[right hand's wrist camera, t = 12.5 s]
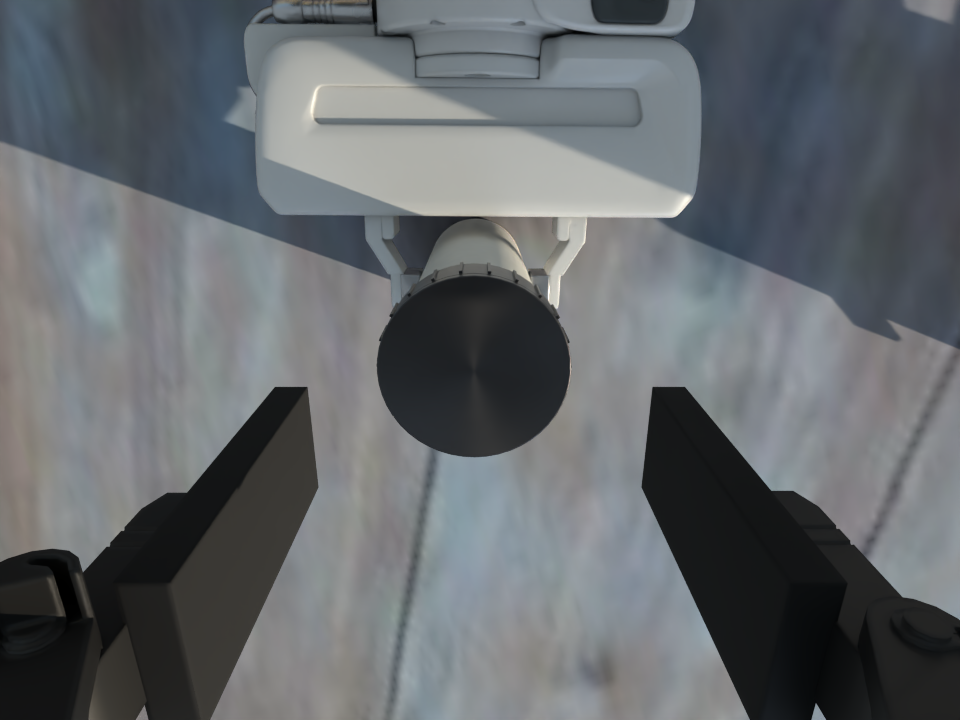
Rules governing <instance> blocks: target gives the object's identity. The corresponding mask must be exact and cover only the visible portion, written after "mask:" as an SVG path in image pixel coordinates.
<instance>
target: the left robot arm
mask: <svg viewBox="0 0 960 720" xmlns="http://www.w3.org/2000/svg"><path fill="white" fill-rule="evenodd" d="M694 6H695V0H273V1H272V6H268V7H266V8H263V9H262V10H260V11H259V12H257V13H256V14H255V15H254V16H253V18H252V19H251V20H250V22H249V24H248V25H247V27H246V29H245V34H244V49H245V58H246V67H247V76H248V80H249V83H250V86H251V88H252V90H253V92H254V94H255V95H256V96H257V98H256V116H255V159H256V177H257V186H258V191H259V194H260V195H261V197H262V198H263V199H264V200H265V201H266V202H267V204H268V205H269V206H270V207H271V208H272V209H273V210H274V211H275V212H276V213H277V214H280V215H364V219H365V236H366V241H367V242H368V244H369V246H370V247H371V249H372V250H373V252H374V253H375V255H376V256H377V258H378V260H379V261H380V263H381V264H382V266H383V267H384V269H385V270H386V272H387V274H390V275H391V297H392V306H393V308H394V306H395V304H396V303H400V301H401V299H402V298H403V297H404V296H405V295H406V293H407V292H408V291H409V290H410V288H411V286H412V284H413V283H415V284H417V283H418V282H419V280H420V278H421V276H422V273H423V268H407V265H406V264H405V262H404V260H403V258H402V257H401V255H400V253H399V252H398V250H397V248H396V246H395V245H394V243H393V241H392V240H391V239H393V238H394V237H395V236H396V235H397V234H398V233H399V231H400V226H399V216H505V217H552V233H553V234H554V236H555V237H556V238H557V239H558V240H559V243H558V245H557V246H556V248H555V249H554V251H553V253H552V254H551V256H550V258H549V259H548V261H547V263H546V264H545V266H544V269H528V275H529V277H530V280H531V282H532V284H533V285H534V286H535V285H537V286H538V287H539V289H540V292H541V293H542V294H543V295H544V296H545V297H546V299H547V300H548V302H549V303H550V305H552V304H553V305H554V307H555V309H557V308H558V304H559V289H560V275H563V274H564V273H565V271H566V270H567V268H568V267H569V265H570V264H571V262H572V261H573V259H574V258H575V256H576V255H577V253H578V252H579V250H580V249H581V247H582V246H583V244H584V243H585V237H586V223H587V217H636V218H672V217H676V216H677V215H678V214H679V213H680V212H681V211H682V210H683V209H684V208H685V207H686V206H687V204H688V203H689V202H690V201H691V200H692V198H693V197H694V195H695V192H696V187H697V181H698V173H699V163H700V150H701V123H702V110H701V84H700V77H699V73H698V69H697V66H696V63H695V61H694V59H693V57H692V56H691V54H690V53H689V52H688V50H687V49H686V48H685V47H684V46H682V45H681V44H680V43H678V42H676V41H674V40H672V38H674V37H675V36H677V35H678V34H679V33H681V32H682V31H683V30H684V29H685V28H686V27H687V25H688V24H689V22H690V20H691V18H692V15H693V11H694ZM273 16H274V18H275V20H276V22H278V23H281V24H262V23H263V22H264V21H265V20H266V19H268V18H271V17H273ZM308 23H324V24H308ZM376 23H377V27H376ZM377 33H378V35H377ZM378 36H379V37H378Z"/></svg>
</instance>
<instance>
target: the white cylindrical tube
mask: <svg viewBox="0 0 960 720" xmlns="http://www.w3.org/2000/svg"><path fill="white" fill-rule="evenodd" d="M460 262H463V264H471V263H478V264H487V262H489V263H490V264H491V265H494V266H498V267H501V268H504V269H507V270H510V271H512V272H513V270H515V271H516V272H517V274H518V275H520V276H522V277H523V278H525V279H526V280H528V281H529V282H531V280H530V277H529V275H528V272H527V270H526V267H525V265H524V262H523V260H522V257H521V254H520V252H519V249H518V247H517V245H516V243H515V241H514V239H513V238H512V236H511V235H510V234H509V233H508V232H507V231H506V230H505V229H504V228H503V227H501V226H500V225H498V224H496V223H494V222H492V221H489V220H485V219H476V218H475V219H467V220H463V221H460V222H457V223H455V224H453V225H452V226H450V227H449V228H447V229H446V230H445V231H444V232H443V233H442V234H441V236H440V237H439V238H438V240H437V241H436V244H435V246H434V248H433V250H432V253H431V255H430V257H429V259H428V262H427V264H426V266H425V269H424V271H423V273H422V276H421V278H420V280H419V281H421V280H422V279H424V278H425V277H427V276H428V275H430V274H432V273H433V272H434V270H436V269H437V270H441V269H444V268H447V267H450V266H455V265H460ZM531 283H532V282H531Z"/></svg>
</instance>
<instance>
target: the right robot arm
mask: <svg viewBox="0 0 960 720" xmlns="http://www.w3.org/2000/svg"><path fill="white" fill-rule="evenodd" d="M317 489H318V479H317V470H316V461H315V452H314V443H313V434H312V424H311V415H310V406H309V397H308V388H307V387H275V388H274V389H273V390H272V391H271V393H270V394H269V395H268V396H267V397H266V399H265V400H264V401H263V402H262V403H261V405H260V406H259V407H258V408H257V409H256V411H255V412H254V413H253V414H252V415H251V417H250V418H249V419H248V420H247V421H246V423H245V424H244V425H243V426H242V427H241V429H240V430H239V431H238V432H237V433H236V435H235V436H234V437H233V438H232V439H231V441H230V442H229V443H228V444H227V446H226V447H225V448H224V449H223V450H222V452H221V453H220V454H219V455H218V456H217V458H216V459H215V460H214V461H213V462H212V464H211V465H210V466H209V467H208V468H207V470H206V471H205V472H204V473H203V474H202V476H201V477H200V478H199V479H198V480H197V482H196V483H195V484H194V485H193V486H192V488H191V489H190V490H189V491H188V492H187V493H166V494H165V495H163V496H161V497H160V498H158V499H157V500H155V501H153V502H152V503H150V504H149V505H147V506H145V507H144V508H142V509H141V510H140V511H139V512H138V513H137V514H136V516H135V517H134V518H133V519H132V520H131V521H130V522H129V523H128V524H127V525H126V526H125V530H124V531H121V532H120V533H119V534H118V535H117V536H116V537H115V538H114V539H113V541H112V542H111V543H110V547H106V548H105V549H104V550H103V551H102V553H101V554H100V555H99V556H98V557H97V558H96V559H95V560H94V561H93V562H92V563H91V565H90V566H89V567H88V568H87V569H86V570H85V571H84V572H82V568H81V565H80V561H79V558H78V557H77V556H76V555H74V554H73V553H71V552H70V551H66V550H58V549H47V550H39V551H31V552H28V553H25V554H21V555H18V556H15V557H11V558H8V559H6V560H4V561H2V562H0V720H136V718H137V717H138V715H139V713H140V711H141V710H142V708H143V706H144V705H145V708H146V711H147V715H148V719H149V720H210V719H211V717H212V714H213V712H214V710H215V708H216V706H217V704H218V702H219V699H220V697H221V695H222V693H223V691H224V689H225V687H226V684H227V682H228V680H229V678H230V676H231V674H232V672H233V669H234V667H235V665H236V663H237V661H238V659H239V657H240V654H241V652H242V650H243V648H244V646H245V644H246V642H247V639H248V637H249V635H250V633H251V631H252V629H253V627H254V624H255V622H256V620H257V618H258V616H259V614H260V612H261V609H262V607H263V605H264V603H265V601H266V599H267V596H268V594H269V592H270V590H271V588H272V586H273V584H274V581H275V579H276V577H277V575H278V573H279V571H280V569H281V566H282V564H283V562H284V560H285V558H286V556H287V554H288V551H289V549H290V547H291V545H292V543H293V541H294V539H295V536H296V534H297V532H298V530H299V528H300V526H301V524H302V521H303V519H304V517H305V515H306V513H307V511H308V509H309V506H310V504H311V502H312V500H313V498H314V496H315V494H316V491H317ZM642 489H643V491H644V494H645V496H646V498H647V500H648V502H649V504H650V506H651V509H652V511H653V513H654V515H655V517H656V519H657V521H658V524H659V526H660V528H661V530H662V532H663V534H664V536H665V539H666V541H667V543H668V545H669V547H670V549H671V551H672V554H673V556H674V558H675V560H676V562H677V564H678V566H679V569H680V571H681V573H682V575H683V577H684V579H685V581H686V584H687V586H688V588H689V590H690V592H691V594H692V596H693V599H694V601H695V603H696V605H697V607H698V609H699V612H700V614H701V616H702V618H703V620H704V622H705V624H706V627H707V629H708V631H709V633H710V635H711V637H712V639H713V642H714V644H715V646H716V648H717V650H718V652H719V654H720V657H721V659H722V661H723V663H724V665H725V667H726V669H727V672H728V674H729V676H730V678H731V680H732V682H733V684H734V687H735V689H736V691H737V693H738V695H739V697H740V699H741V702H742V704H743V706H744V708H745V710H746V712H747V714H748V717H749V719H750V720H811V719H812V715H813V711H814V708H815V704H816V703H817V705H818V707H819V708H820V710H821V712H822V713H823V715H824V717H825V718H826V720H960V620H959V619H957V618H956V617H954V616H952V615H950V614H948V613H946V612H945V611H943V610H941V609H939V608H937V607H935V606H932V605H929V604H926V603H924V602H921V601H918V600H915V599H910V598H903V597H902V596H901V595H900V594H899V593H898V592H897V591H896V590H895V589H894V588H893V587H892V586H891V584H890V583H889V582H888V581H887V580H886V579H885V578H884V577H883V576H882V575H881V574H880V573H879V571H878V570H877V569H876V568H875V567H874V566H873V565H872V564H871V563H870V562H869V561H868V560H867V558H866V557H865V556H864V555H863V554H862V553H861V552H860V551H859V550H858V549H857V548H856V547H855V546H854V545H851V544H850V540H849V539H848V538H847V537H846V536H845V535H844V534H843V533H842V531H841V530H840V529H836V525H835V524H834V523H833V522H832V521H831V520H830V518H829V517H828V516H827V515H826V514H825V513H824V512H823V511H822V510H821V509H820V508H819V507H818V506H817V505H815V504H813V503H812V502H810V501H809V500H807V499H805V498H804V497H802V496H800V495H799V494H797V493H796V492H794V491H771V490H770V489H769V488H768V486H767V485H766V484H765V483H764V482H763V480H762V479H761V478H760V477H759V476H758V474H757V473H756V472H755V471H754V470H753V468H752V467H751V466H750V465H749V464H748V462H747V461H746V460H745V459H744V458H743V456H742V455H741V454H740V453H739V452H738V450H737V449H736V448H735V447H734V446H733V444H732V443H731V442H730V441H729V439H728V438H727V437H726V436H725V435H724V433H723V432H722V431H721V430H720V429H719V427H718V426H717V425H716V424H715V423H714V421H713V420H712V419H711V418H710V417H709V415H708V414H707V413H706V412H705V411H704V409H703V408H702V407H701V406H700V405H699V403H698V402H697V401H696V400H695V399H694V397H693V396H692V395H691V394H690V393H689V391H688V390H687V389H686V388H685V387H653V388H652V397H651V406H650V415H649V424H648V434H647V443H646V452H645V461H644V470H643V479H642Z"/></svg>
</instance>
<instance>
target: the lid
mask: <svg viewBox="0 0 960 720" xmlns="http://www.w3.org/2000/svg"><path fill="white" fill-rule="evenodd" d="M390 317H391V319H390V321H389V323H388V325H386V327H385V329H384V331H383V333H382V335H381V337H380V339H379V341H381V342H380V346H379V350H378V357H377V375H378V382H379V386H380V390H381V393H382V396H383V398H384V401H385V403H386V405H387V407H388V409H389V410H390V412H391V414H392V415H393V417H394V418H395V419H396V420H397V422H398V423H399V424H400V425H401V426H402V427H403V428H404V429H405V430H406V431H407V432H408V433H409V434H410V435H412V436H413V437H414V438H416V439H417V440H418V441H420V442H422V443H423V444H425V445H427V446H429V447H431V448H433V449H436V450H438V451H441V452H444V453H447V454H451V455H457V456H463V457H486V456H492V455H497V454H501V453H504V452H508V451H511V450H513V449H515V448H517V447H520V446H522V445H523V444H525V443H527V442H528V441H530V440H532V439H533V438H534V437H535V436H537V435H538V434H539V433H541V432H542V431H543V430H544V429H545V428H546V427H547V426H548V425H549V423H550V422H551V421H552V420H553V418H554V417H555V416H556V414H557V413H558V411H559V409H560V408H561V406H562V404H563V401H564V399H565V397H566V394H567V391H568V387H569V383H570V376H571V357H570V350H569V346H568V343H570V342H569V339H568V337H567V335H566V333H565V331H564V329H563V327H561V325H560V323H559V321H558V319H559V318H560V317H559V315H558V313H557V311H556V309H555V307H554V305H553V304H552V305H550V303H549V302H548V300H547V299H546V297H545V296H544V295H543V294H542V293H541V292H540V289H539V287H538V286H537V285H535V286H534V285H533V284H532V283H531V282H529V281H528V280H526V279H525V278H523V277H522V276H520V275H518V274H517V272H516V271H515V270H513V272H512V271H510V270H507V269H504V268H501V267H498V266H494V265H491V264H490V263H489V262H487V264H478V263H471V264H463V262H460V265H455V266H450V267H447V268H444V269H441V270H437V269H436V270H434V272H433V273H432V274H430V275H428V276H427V277H425V278H424V279H422V280H421V281H419V282H418V283H417V284H415V283H413V284H412V286H411V288H410V290H409V291H408V292H407V293H406V295H405V296H404V297H403V298H402V299H401V301H400V303H396V304H395V306H394V308H393V310H392V312H391V314H390Z"/></svg>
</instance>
